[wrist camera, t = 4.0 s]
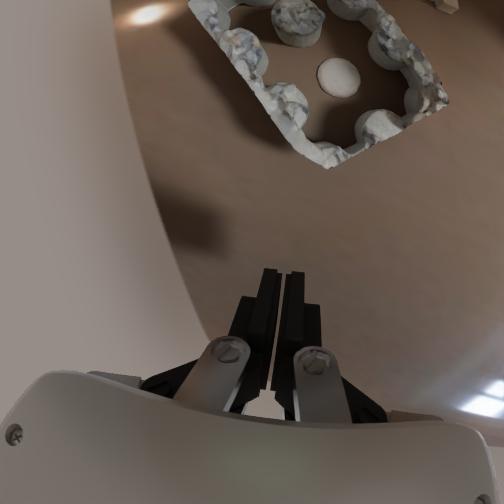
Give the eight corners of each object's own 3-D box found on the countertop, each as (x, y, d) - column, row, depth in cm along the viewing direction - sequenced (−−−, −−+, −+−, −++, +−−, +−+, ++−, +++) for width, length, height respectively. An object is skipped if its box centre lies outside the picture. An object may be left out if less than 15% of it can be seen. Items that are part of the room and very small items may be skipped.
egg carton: (425, 112, 11) (461, 113, 7) (310, 170, 14) (312, 188, 10) (316, -36, 8) (315, -73, 4) (204, 21, 11) (172, -3, 7)
